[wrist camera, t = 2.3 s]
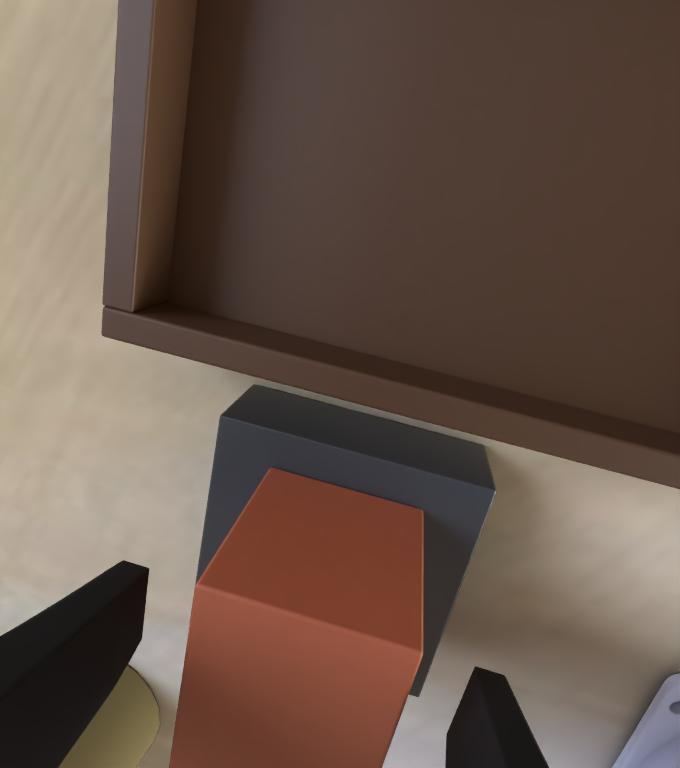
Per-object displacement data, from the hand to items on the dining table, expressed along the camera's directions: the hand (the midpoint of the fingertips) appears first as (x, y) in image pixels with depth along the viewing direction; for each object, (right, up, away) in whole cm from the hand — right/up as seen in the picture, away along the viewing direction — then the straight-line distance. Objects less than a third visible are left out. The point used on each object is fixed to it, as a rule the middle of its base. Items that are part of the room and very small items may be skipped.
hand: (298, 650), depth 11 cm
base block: (+1, +2, +5) cm, 5 cm away
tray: (+4, +11, +1) cm, 12 cm away
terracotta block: (0, +1, +3) cm, 3 cm away
